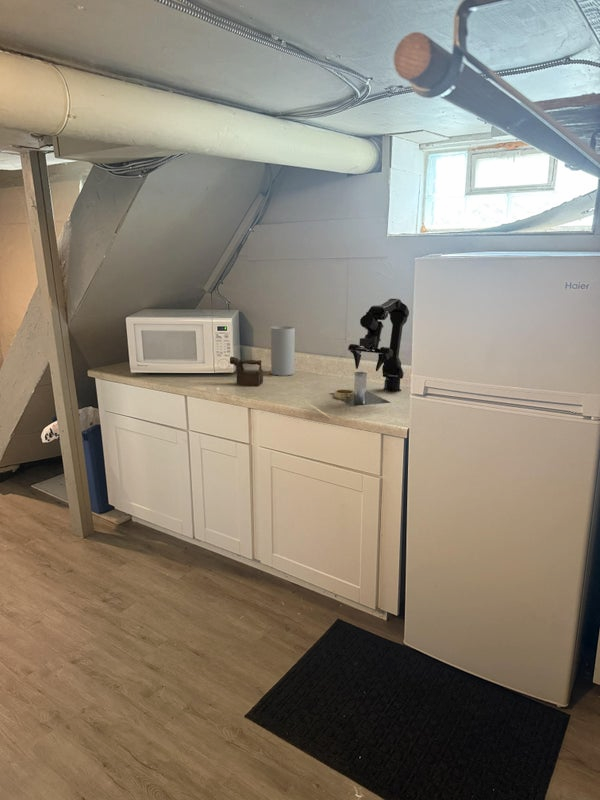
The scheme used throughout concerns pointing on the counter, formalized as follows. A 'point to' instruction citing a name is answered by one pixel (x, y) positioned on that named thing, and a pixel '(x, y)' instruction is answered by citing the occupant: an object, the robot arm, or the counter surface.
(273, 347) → the cylinder vase
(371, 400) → the base
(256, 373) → the clothes iron
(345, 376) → the counter surface
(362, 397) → the grey cylindrical piece
